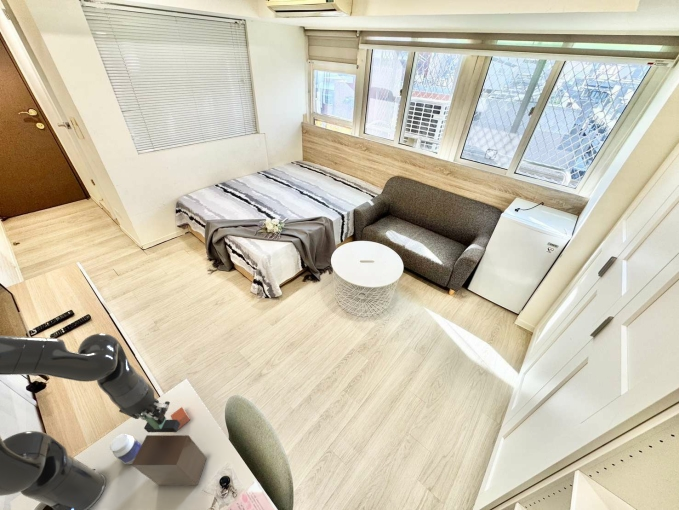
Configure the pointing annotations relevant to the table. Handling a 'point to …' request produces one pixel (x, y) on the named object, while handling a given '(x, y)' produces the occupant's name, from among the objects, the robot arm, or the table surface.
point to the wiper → (164, 427)
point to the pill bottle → (125, 448)
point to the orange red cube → (180, 416)
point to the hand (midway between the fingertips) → (157, 421)
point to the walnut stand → (170, 460)
